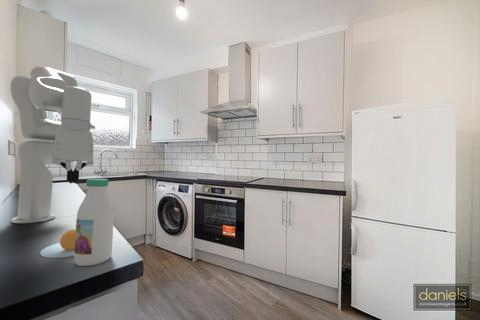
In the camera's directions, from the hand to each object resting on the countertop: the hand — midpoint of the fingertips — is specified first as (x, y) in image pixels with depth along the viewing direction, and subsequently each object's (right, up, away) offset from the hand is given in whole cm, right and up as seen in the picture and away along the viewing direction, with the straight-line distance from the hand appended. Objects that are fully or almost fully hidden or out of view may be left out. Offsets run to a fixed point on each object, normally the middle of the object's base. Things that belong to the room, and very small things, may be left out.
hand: (72, 182), depth 69 cm
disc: (+7, -17, -9) cm, 21 cm away
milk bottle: (+18, -18, -16) cm, 30 cm away
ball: (+9, -14, -11) cm, 20 cm away
